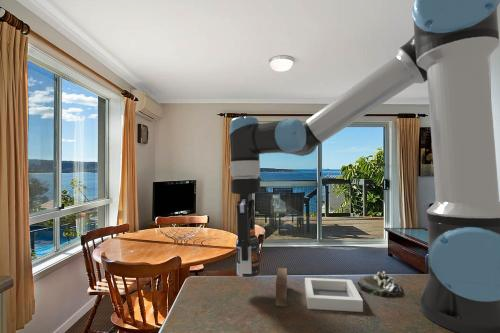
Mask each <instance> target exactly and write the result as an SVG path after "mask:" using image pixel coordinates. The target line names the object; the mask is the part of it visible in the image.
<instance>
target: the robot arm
mask: <svg viewBox="0 0 500 333" xmlns="http://www.w3.org/2000/svg"><path fill="white" fill-rule="evenodd" d="M499 4H500V0H414V2H413V6H412V8H411V16H412V20H413V32H414V34H413V36H411V38H410V39H409V40H408V41H406V43H405V44H403V45H402V46H401V47H399V48H398V49H397V53H396V55H395V56H394V57H392V58H391V59H390V60H388V61H387V62H386V63H384V64H383V65H382V66H380V67H378V68H377V69H376V70H375V71H373V72H371V73H370V74H369V75H367V76H366V77H365V78H362V80H360V81H359V82H357V83H356V84H355V85H353V86H352V87H351V88H349V89H348V90H347V91H345V92H344V93H342V94H341V95H340V96H338V97H336V98H335V99H333V100H332V101H330V103H328V104H326V105H325V106H324V107H322V108H321V109H320V110H318V111H317V112H315V113H314V114H313V115H311V116H310V117H308V118H307V119H306V120H304V121H302V120H300V119H298V118H293V119H288V118H287V119H282V120H277V121H270V122H264V123H259V120H258V118H256V117H253V116H238V117H234V118H232V119H231V120H230V121H229V135H228V136H229V146H230V148H229V149H230V150H229V151H230V165H229V166H228V169H229V170H230V176H231V177H232V178H233V179H231V180H230V189H231V190H230V192H231V194H233V195H239V198H238V201H237V202H236V214H237V218H236V219H237V221H236V222H237V239H238V244H236V243H235V248H236V247H240V274H251V273H252V265H251V246H250V229H254V230H255V231H256V227H255V224H256V223H255V204H256V203H255V199H254V198H253V195H252V194H259V193H260V192H261V179H260V178H259V177H260V176H261V165H260V164H261V160H260V155H261V154H263V155H265V154H276V153H277V154H287V155H288V154H289V155H295V156H301V157H304V156H308V155H311V154H313V153H314V152H315V151H316V149H317V147H318V146H319V145H320V144H322V143H324V142H325V141H326V140H328V139H330V138H331V137H333V136H334V135H336V134H338V133H339V132H341V131H342V130H344V129H345V128H347V127H348V126H350V125H352V124H353V123H354V122H356V121H358V120H359V119H361V118H363V117H364V116H366V115H367V114H369V113H370V112H372V111H374V109H375V110H376V108H378V107H380V106H381V105H383V104H385V102H387V101H389V100H390V99H392V98H394V97H395V96H397V95H399V93H401V92H402V91H405V90H406V89H407V88H409V87H411V86H412V85H414V84H424V83H425V82H427V91H428V107H429V122H430V134H431V149H432V150H431V151H432V162H433V163H432V165H433V178H434V179H433V180H434V181H433V182H434V193H435V195H434V196H435V201H434V203H433V204H432V205H431V206H430V207H428V208H427V210H426V223H427V247H428V248H427V250H428V252H427V253H428V254H427V255H428V258H427V259H428V277H427V279H426V283H425V284H424V288H423V290H422V292H421V295H420V300H419V302H420V303H419V304H420V305H419V306H420V307H419V308H420V312H421V313H422V314H423V315H424V317H426V318H427V319H428V320H430V321H431V322H433V323H435V324H437V325H438V326H441V327H443V328H445V329H447V330H450V331H453V332H456V333H500V194H499V192H500V191H499V182H498V181H499V179H498V167H497V157H496V156H497V155H496V143H495V130H494V118H493V117H494V116H493V106H492V92H491V91H492V90H491V79H490V68H489V66H490V64H489V57H490V56H492V54H493V52H495V50H497V49H498V47H499V45H500V33H499V20H498V6H499ZM255 237H256V238H258V235H255Z"/></svg>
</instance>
